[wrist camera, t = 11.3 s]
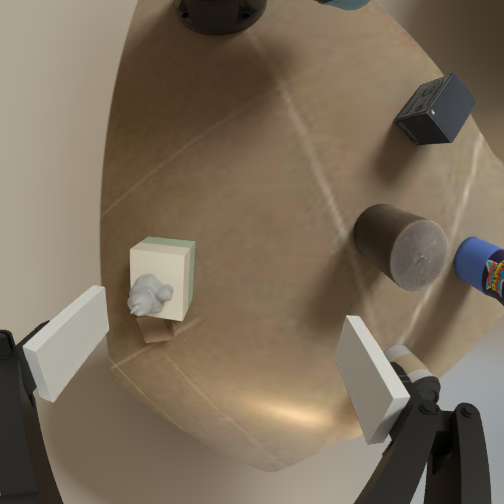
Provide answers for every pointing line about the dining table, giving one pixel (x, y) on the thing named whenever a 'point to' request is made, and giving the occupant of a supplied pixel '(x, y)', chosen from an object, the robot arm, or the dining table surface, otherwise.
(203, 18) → the robot arm
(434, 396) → the coffee cup
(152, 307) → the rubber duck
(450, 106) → the small box
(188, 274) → the cream and green box
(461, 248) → the blue plastic bottle
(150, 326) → the brick
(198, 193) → the dining table surface
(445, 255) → the pillar candle
